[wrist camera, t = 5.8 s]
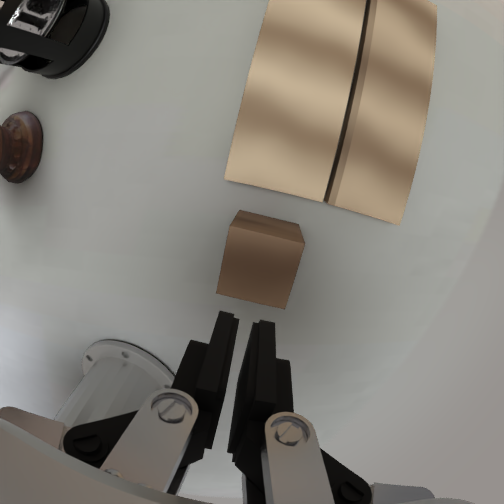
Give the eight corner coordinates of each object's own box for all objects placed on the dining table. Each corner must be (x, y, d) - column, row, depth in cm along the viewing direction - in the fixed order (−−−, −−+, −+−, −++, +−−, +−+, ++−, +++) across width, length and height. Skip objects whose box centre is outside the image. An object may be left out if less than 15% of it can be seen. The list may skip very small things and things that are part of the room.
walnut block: (283, 277, 23) (284, 309, 18) (227, 264, 23) (216, 293, 18) (298, 223, 22) (305, 244, 17) (239, 209, 22) (229, 225, 17)
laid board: (391, 220, 21) (399, 225, 19) (323, 200, 21) (327, 204, 19) (429, 11, 14) (437, 5, 13) (368, -16, 14) (373, -24, 12)
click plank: (318, 198, 21) (323, 202, 19) (225, 177, 20) (223, 179, 19) (364, -17, 14) (370, -25, 13) (283, -41, 13) (285, -51, 12)
